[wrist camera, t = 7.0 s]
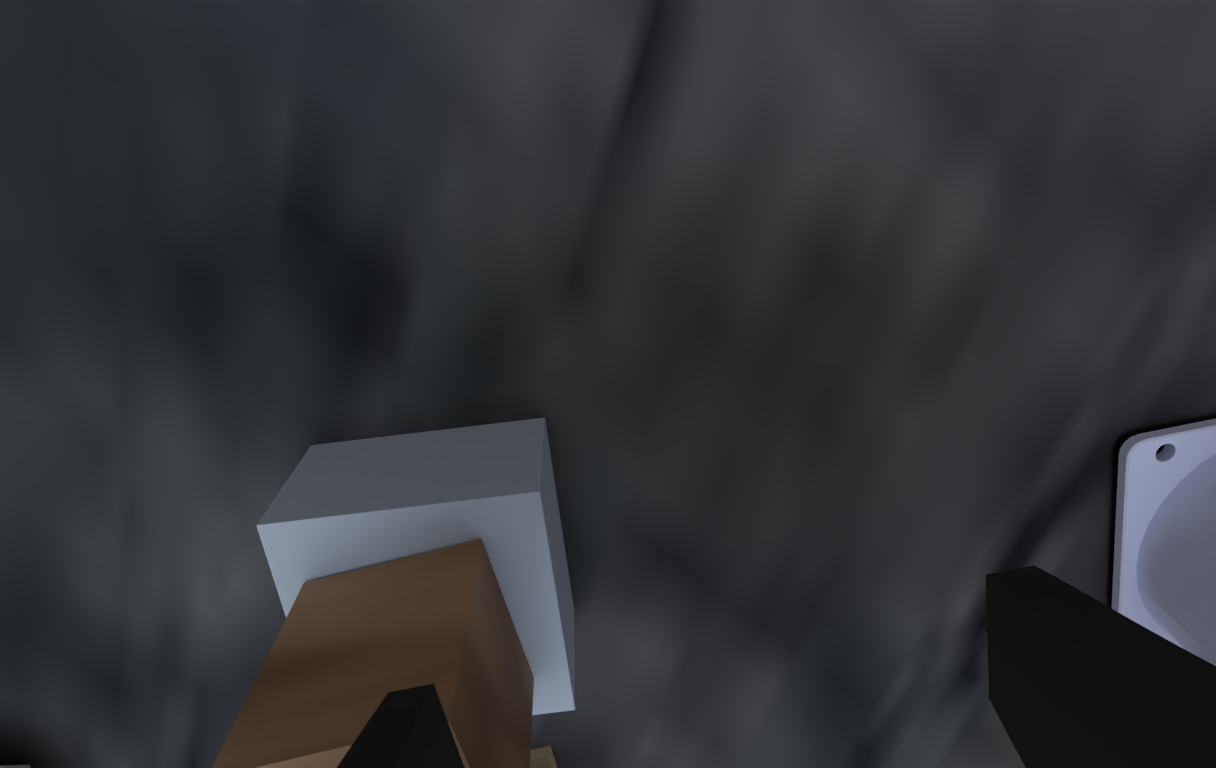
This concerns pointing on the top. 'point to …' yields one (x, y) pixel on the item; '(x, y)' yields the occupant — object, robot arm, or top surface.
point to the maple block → (542, 758)
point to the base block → (438, 525)
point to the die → (15, 766)
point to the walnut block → (390, 664)
